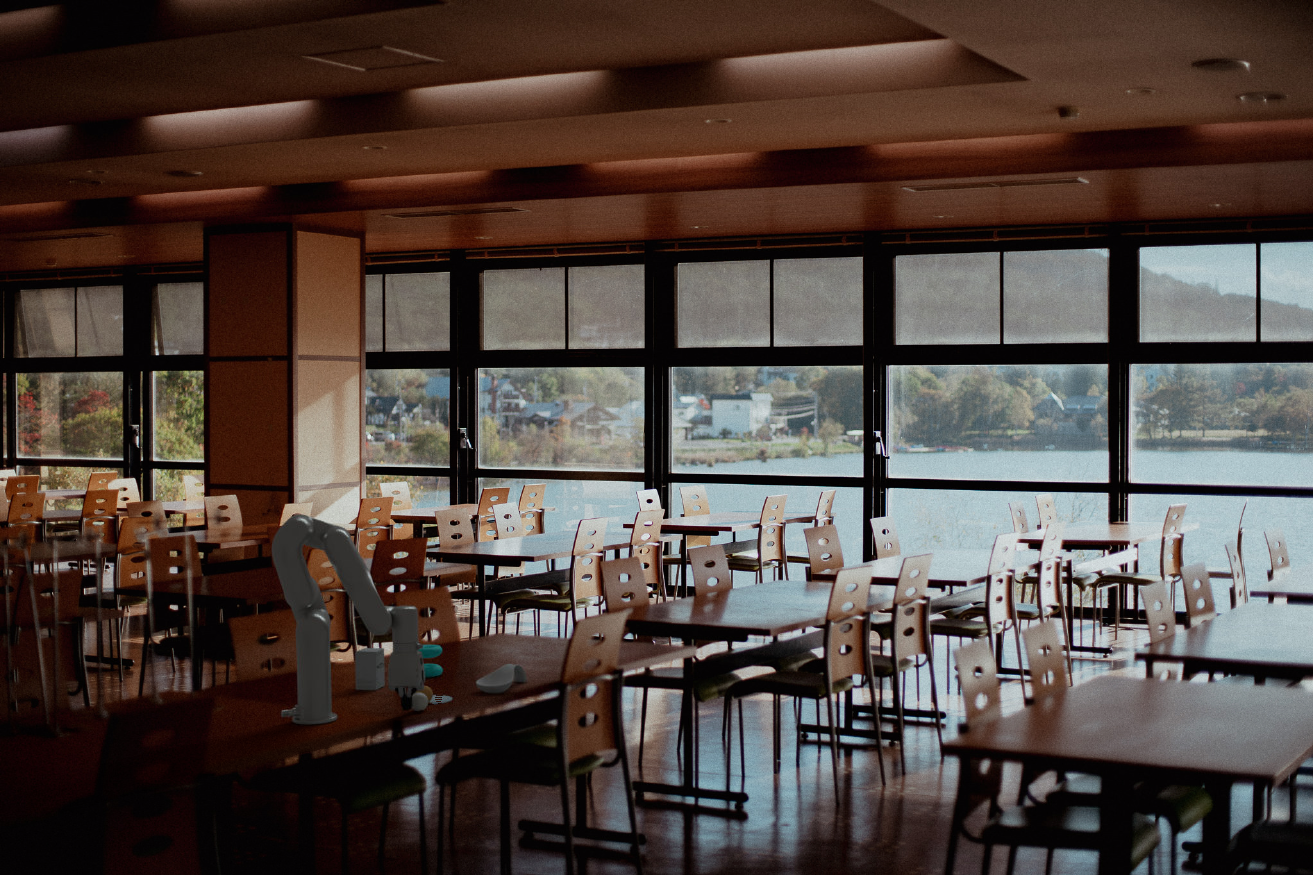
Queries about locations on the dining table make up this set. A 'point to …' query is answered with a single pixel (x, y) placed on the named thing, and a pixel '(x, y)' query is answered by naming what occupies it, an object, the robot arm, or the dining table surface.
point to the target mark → (444, 700)
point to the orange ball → (427, 692)
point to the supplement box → (369, 668)
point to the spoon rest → (501, 679)
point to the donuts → (431, 652)
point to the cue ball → (419, 701)
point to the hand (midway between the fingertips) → (406, 709)
